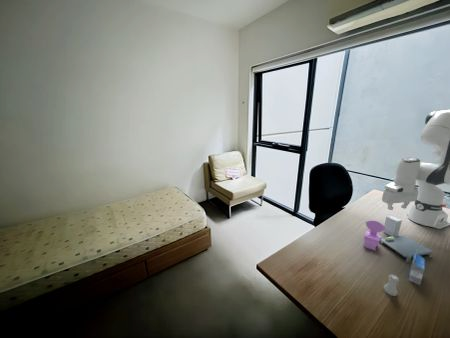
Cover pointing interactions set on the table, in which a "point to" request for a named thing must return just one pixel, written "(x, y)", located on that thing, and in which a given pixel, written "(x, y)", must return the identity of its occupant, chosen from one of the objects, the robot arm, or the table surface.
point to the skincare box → (392, 226)
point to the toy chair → (373, 234)
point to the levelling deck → (405, 246)
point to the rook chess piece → (391, 285)
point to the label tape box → (417, 269)
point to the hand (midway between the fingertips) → (396, 208)
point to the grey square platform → (409, 256)
